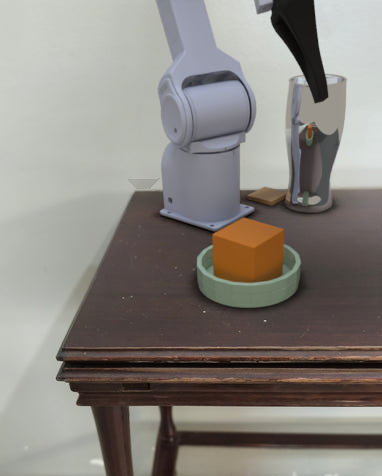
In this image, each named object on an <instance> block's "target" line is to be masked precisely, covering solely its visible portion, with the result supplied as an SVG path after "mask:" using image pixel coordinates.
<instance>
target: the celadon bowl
mask: <svg viewBox="0 0 382 476" xmlns="http://www.w3.org/2000/svg"><path fill="white" fill-rule="evenodd" d="M300 257H301V256H300V254H299V253H298V252H297V251H296V250H295V249H294V248H292V247H291V246H290V245H287V244H285V243H284V252H283V272H282V275H281V276H280V277H278V278H276V279H273V280H270V281H263V282H255V283H243V282H232V281H228V280H224V279H220V278H217V277H215V276H213V244H211V245H209V246H207V247H205V248H204V249H203V250H202V251H200V253H199V255H197V256H196V278H197V279H196V280H197V287H198V289H199V291H200V293H201V294H202V295H204V296H205V298H208V300H211V301H213V302H215V303H217V304H219V305H220V304H221V305H224V306H228V307H232V308H242V309H243V308H244V309H254V308H263V307H269V306H273V305H277V304H280V303H282V302H284V301H287V300H288V299H289V298H291V297H292V296H293V295H295V293H296V292H297V290H298V289H299V284H300V281H301V268H302V261H301V258H300Z"/></svg>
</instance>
